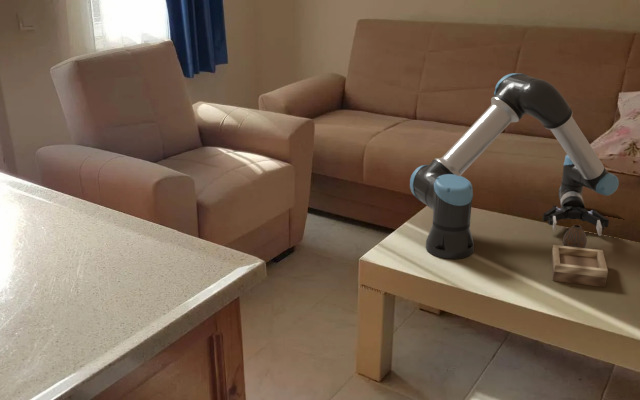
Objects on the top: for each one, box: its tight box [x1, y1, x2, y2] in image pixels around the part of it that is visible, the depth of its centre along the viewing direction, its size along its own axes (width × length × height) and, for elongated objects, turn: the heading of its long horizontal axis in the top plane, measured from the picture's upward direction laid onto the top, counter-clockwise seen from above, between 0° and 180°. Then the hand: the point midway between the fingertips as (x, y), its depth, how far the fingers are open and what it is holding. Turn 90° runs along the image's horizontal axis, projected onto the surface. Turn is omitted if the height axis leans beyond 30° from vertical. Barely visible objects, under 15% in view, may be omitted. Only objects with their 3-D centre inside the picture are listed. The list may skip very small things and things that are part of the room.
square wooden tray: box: [550, 244, 609, 288], centre depth 183 cm, size 14×14×5 cm
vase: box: [562, 223, 588, 248], centre depth 196 cm, size 7×7×9 cm
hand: (577, 229), depth 199 cm, fingers open, 13 cm apart
